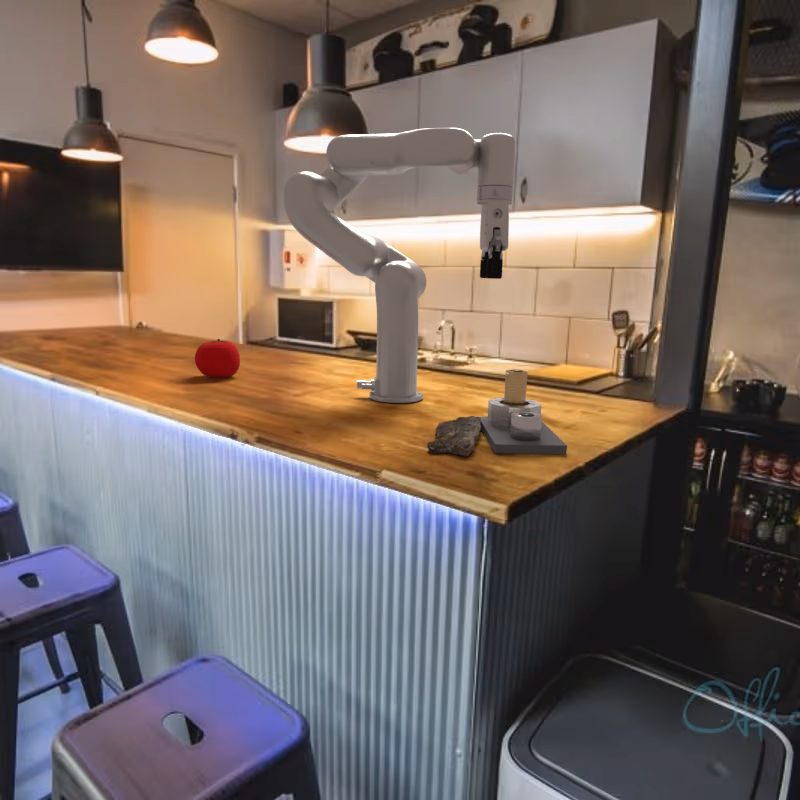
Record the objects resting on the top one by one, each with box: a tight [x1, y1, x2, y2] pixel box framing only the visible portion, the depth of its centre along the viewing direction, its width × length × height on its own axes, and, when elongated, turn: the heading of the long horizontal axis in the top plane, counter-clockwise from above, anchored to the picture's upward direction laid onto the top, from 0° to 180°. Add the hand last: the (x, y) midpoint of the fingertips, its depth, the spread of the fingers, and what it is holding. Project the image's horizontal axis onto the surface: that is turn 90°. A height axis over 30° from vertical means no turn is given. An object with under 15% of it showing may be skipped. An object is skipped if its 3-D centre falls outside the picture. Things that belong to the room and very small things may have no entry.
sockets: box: [487, 397, 543, 441], centre depth 113 cm, size 9×18×4 cm, turn 1°
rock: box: [426, 415, 481, 457], centre depth 110 cm, size 21×8×3 cm, turn 169°
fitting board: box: [478, 416, 568, 455], centre depth 113 cm, size 12×20×2 cm, turn 1°
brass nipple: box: [503, 368, 528, 406], centre depth 116 cm, size 4×4×10 cm
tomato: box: [194, 338, 241, 379], centre depth 167 cm, size 12×12×10 cm
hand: (490, 278), depth 135 cm, fingers open, 9 cm apart
